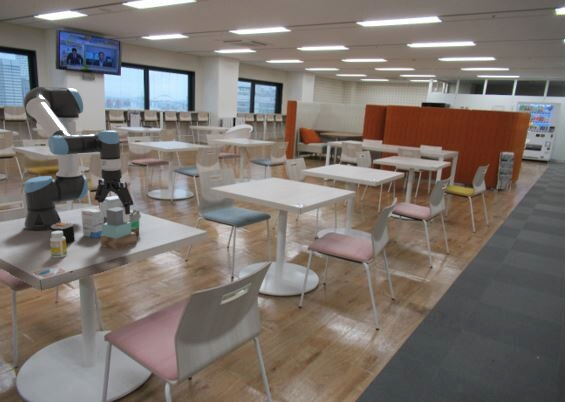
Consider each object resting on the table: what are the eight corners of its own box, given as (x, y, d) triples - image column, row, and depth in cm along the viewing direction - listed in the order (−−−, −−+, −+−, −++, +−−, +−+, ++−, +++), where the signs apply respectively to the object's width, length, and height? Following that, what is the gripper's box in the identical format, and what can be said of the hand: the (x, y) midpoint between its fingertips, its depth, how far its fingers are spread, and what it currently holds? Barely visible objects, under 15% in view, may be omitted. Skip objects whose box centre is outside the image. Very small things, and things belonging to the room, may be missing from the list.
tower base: (100, 246, 171) (100, 235, 170) (120, 240, 180) (119, 229, 179) (117, 251, 167) (116, 239, 166) (136, 244, 175) (135, 233, 174)
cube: (107, 223, 169) (106, 209, 168) (117, 220, 174) (116, 206, 173) (117, 225, 167) (116, 211, 166) (127, 222, 172) (126, 208, 170)
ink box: (105, 235, 184) (103, 210, 182) (96, 238, 180) (94, 212, 177) (92, 232, 188) (89, 207, 185) (82, 235, 184) (80, 210, 181)
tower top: (102, 235, 170) (101, 224, 169) (117, 230, 177) (117, 219, 175) (116, 238, 166) (115, 227, 165) (131, 233, 173) (130, 222, 172)
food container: (132, 239, 180) (131, 217, 178) (119, 238, 181) (118, 216, 179) (147, 231, 192) (145, 210, 189) (135, 230, 193) (133, 209, 191)
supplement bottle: (55, 259, 156) (52, 235, 154) (49, 255, 159) (46, 232, 157) (69, 255, 160) (67, 232, 158) (63, 252, 163) (61, 229, 161)
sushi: (63, 245, 170) (61, 227, 168) (48, 242, 173) (46, 224, 171) (78, 239, 178) (77, 222, 176) (64, 237, 180) (62, 220, 179)
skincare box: (111, 219, 209) (109, 199, 206) (103, 217, 212) (102, 197, 210) (128, 215, 217) (127, 196, 215) (121, 213, 221) (119, 194, 218)
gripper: (82, 167, 168) (87, 216, 173) (125, 173, 157) (129, 226, 162) (98, 165, 175) (102, 212, 180) (140, 170, 164) (143, 221, 169)
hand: (115, 219), depth 171 cm, fingers open, 13 cm apart
